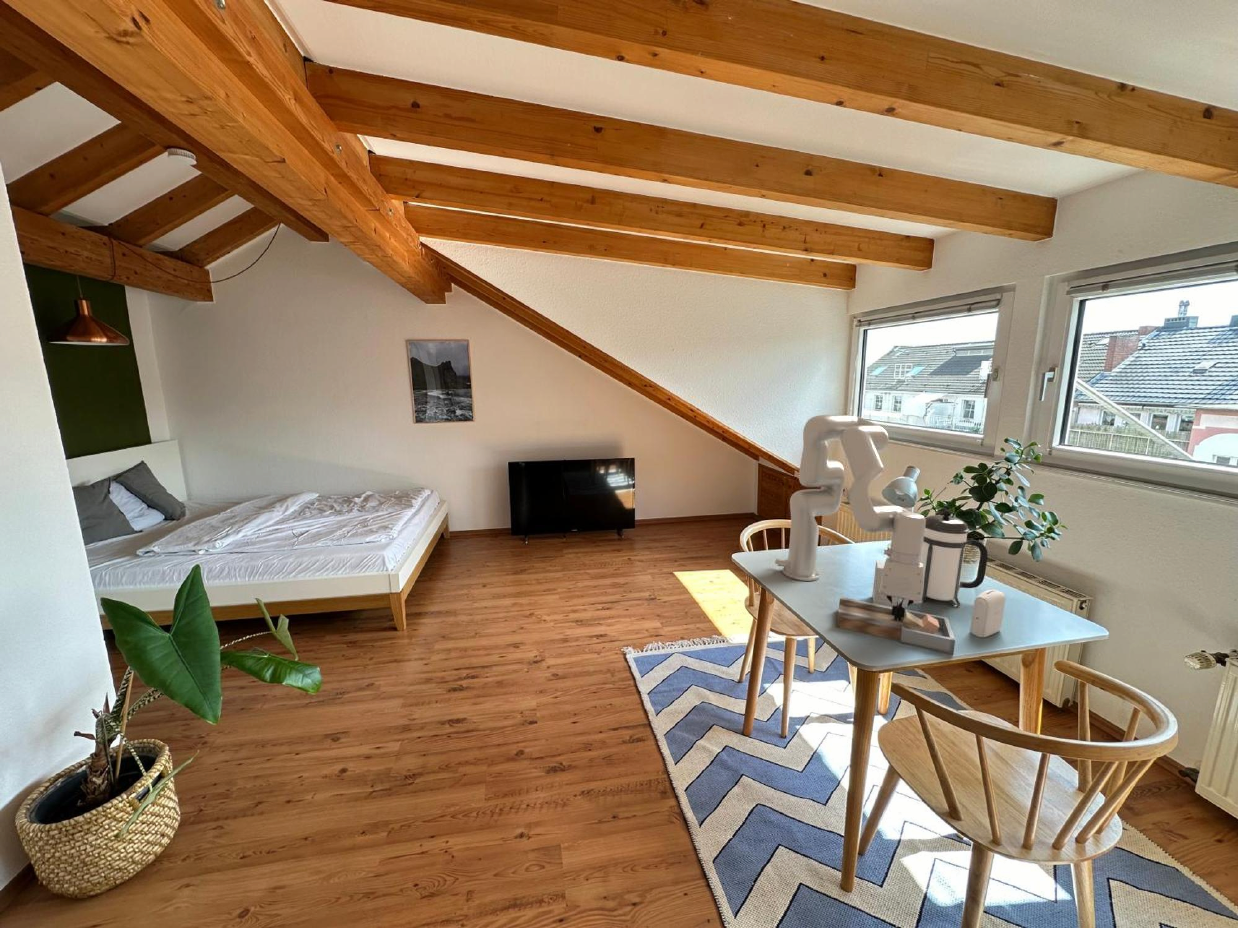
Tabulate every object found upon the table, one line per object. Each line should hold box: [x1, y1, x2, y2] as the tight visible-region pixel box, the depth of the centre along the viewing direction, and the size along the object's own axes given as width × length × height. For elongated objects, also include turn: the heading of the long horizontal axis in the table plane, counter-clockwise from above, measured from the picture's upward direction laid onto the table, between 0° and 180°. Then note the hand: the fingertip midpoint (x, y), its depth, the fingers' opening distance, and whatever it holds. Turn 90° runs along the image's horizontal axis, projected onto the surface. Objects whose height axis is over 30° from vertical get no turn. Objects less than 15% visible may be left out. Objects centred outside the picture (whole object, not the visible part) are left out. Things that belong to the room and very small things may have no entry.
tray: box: [899, 608, 956, 656], centre depth 135 cm, size 12×14×4 cm
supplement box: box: [871, 560, 901, 607], centre depth 155 cm, size 7×7×13 cm
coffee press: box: [921, 509, 989, 608], centre depth 158 cm, size 17×16×30 cm
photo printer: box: [969, 589, 1006, 638], centre depth 138 cm, size 10×4×12 cm, turn 118°
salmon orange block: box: [921, 613, 939, 634], centre depth 135 cm, size 4×4×3 cm
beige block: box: [900, 611, 923, 631], centre depth 136 cm, size 4×4×3 cm
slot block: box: [836, 596, 902, 642], centre depth 141 cm, size 16×12×4 cm
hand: (897, 618), depth 138 cm, fingers closed
